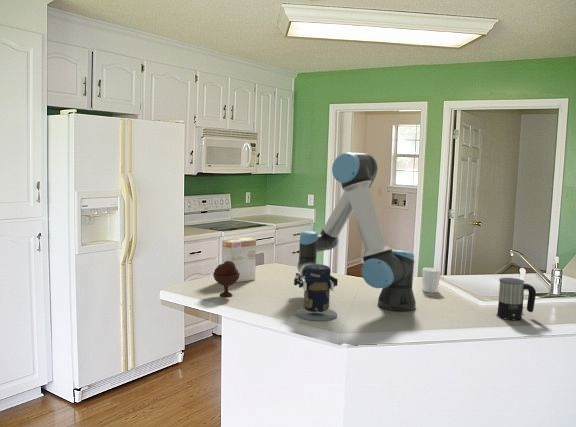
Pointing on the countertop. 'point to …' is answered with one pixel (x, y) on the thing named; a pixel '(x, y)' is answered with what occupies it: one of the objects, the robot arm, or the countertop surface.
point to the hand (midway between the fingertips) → (319, 287)
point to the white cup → (430, 279)
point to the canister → (317, 288)
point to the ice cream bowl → (226, 276)
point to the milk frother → (514, 298)
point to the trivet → (316, 315)
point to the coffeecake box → (241, 256)
